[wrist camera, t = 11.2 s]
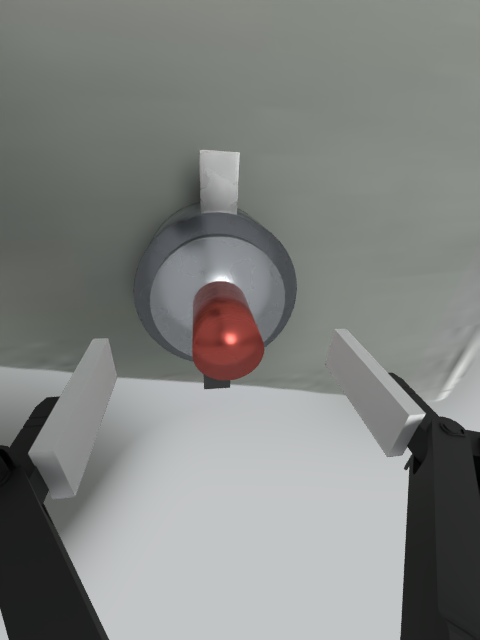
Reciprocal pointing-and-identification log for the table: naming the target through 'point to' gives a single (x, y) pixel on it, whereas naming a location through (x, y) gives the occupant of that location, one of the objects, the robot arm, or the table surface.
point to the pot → (211, 218)
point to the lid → (218, 303)
